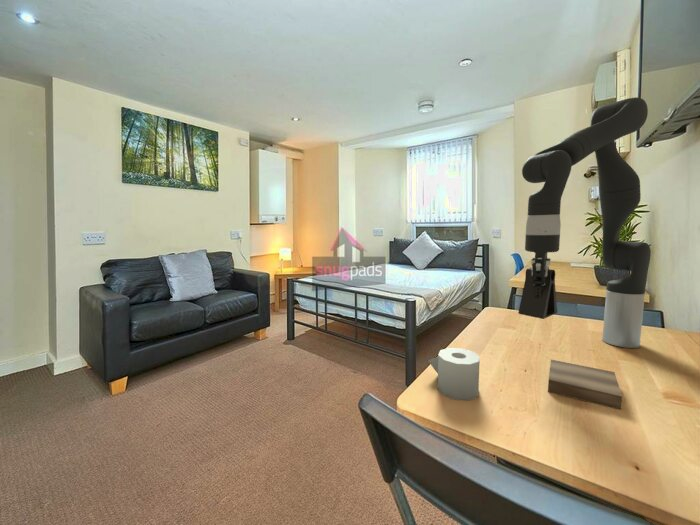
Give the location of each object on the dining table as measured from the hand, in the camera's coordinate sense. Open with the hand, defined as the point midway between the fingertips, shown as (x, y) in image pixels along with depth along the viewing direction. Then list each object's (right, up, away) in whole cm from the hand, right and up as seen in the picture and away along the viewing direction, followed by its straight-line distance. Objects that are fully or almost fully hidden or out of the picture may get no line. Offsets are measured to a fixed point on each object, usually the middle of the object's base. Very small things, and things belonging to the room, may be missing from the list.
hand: (539, 297), depth 80 cm
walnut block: (+6, -21, -7) cm, 23 cm away
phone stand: (0, -4, 0) cm, 4 cm away
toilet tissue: (-24, -21, -6) cm, 33 cm away
